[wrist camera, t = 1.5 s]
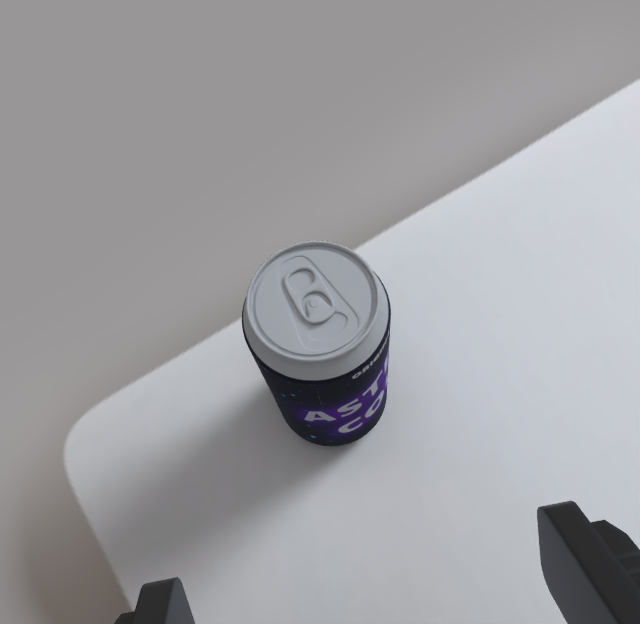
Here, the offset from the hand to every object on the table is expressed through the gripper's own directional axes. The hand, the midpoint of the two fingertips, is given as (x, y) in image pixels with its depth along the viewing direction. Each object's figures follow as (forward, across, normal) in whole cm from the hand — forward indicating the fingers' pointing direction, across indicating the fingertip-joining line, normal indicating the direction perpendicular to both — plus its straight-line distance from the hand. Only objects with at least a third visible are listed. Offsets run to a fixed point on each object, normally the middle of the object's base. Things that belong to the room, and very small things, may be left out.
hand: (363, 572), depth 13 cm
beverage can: (+19, 0, +5) cm, 20 cm away
